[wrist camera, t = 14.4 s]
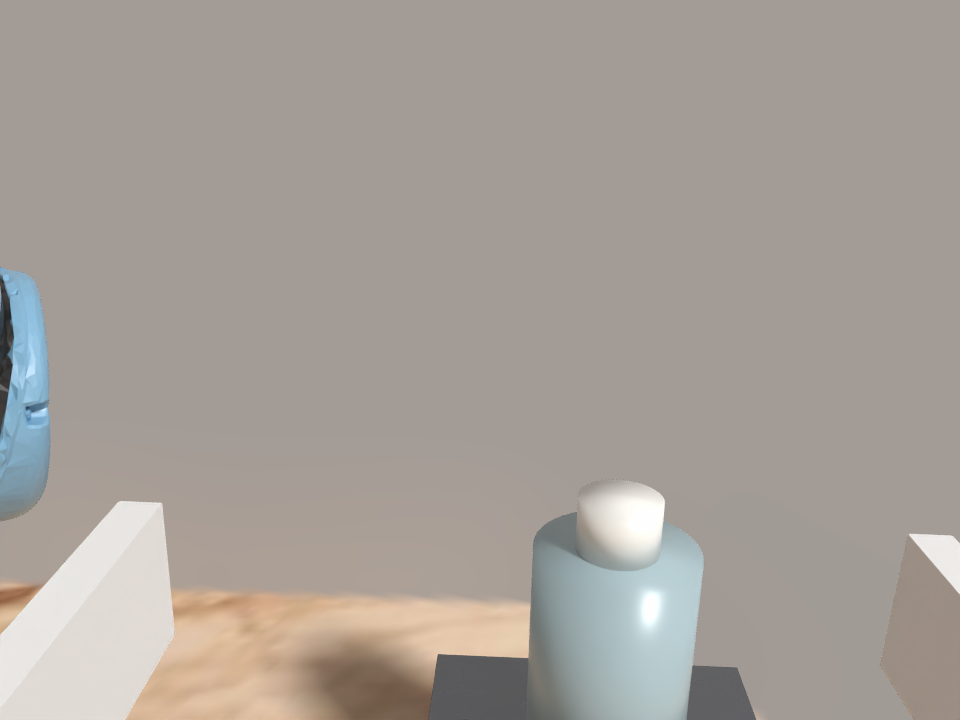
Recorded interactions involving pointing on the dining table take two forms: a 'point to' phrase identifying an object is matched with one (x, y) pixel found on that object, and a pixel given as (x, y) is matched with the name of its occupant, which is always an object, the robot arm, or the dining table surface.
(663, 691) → the white-capped plastic bottle
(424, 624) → the dining table surface
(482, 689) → the block
